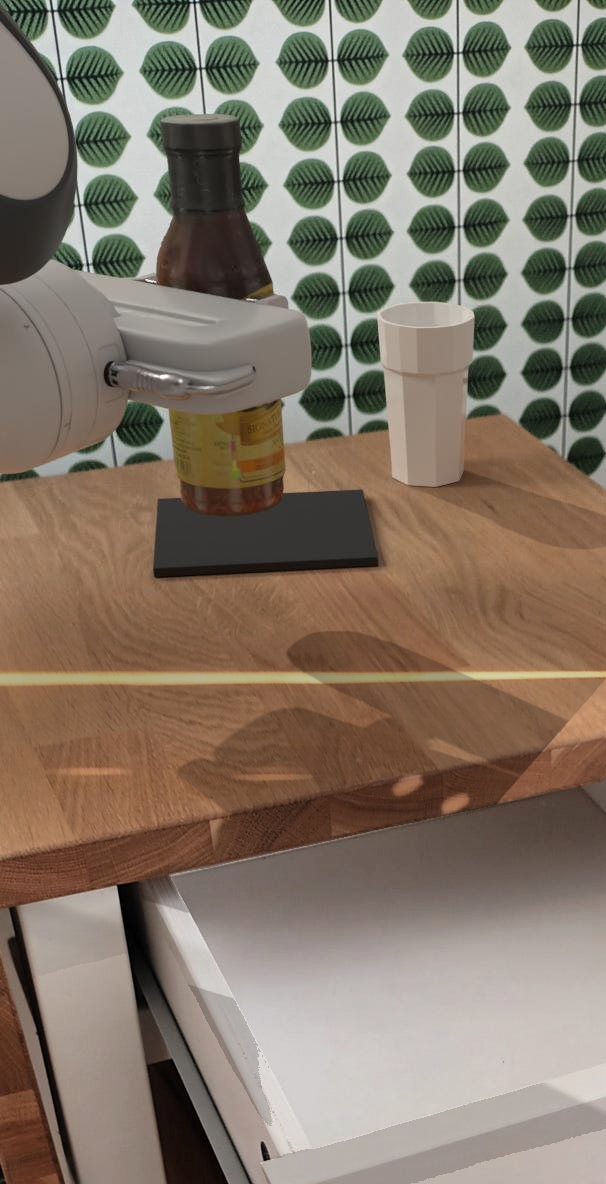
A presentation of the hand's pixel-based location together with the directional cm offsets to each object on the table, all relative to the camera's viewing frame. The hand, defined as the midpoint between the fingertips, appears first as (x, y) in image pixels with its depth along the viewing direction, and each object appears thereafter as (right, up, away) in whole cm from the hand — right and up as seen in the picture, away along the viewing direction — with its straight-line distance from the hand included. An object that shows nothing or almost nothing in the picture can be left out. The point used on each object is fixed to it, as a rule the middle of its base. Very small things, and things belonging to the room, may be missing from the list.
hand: (222, 299), depth 84 cm
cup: (+10, -1, +28) cm, 30 cm away
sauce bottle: (0, -10, +6) cm, 11 cm away
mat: (0, -8, +18) cm, 20 cm away
